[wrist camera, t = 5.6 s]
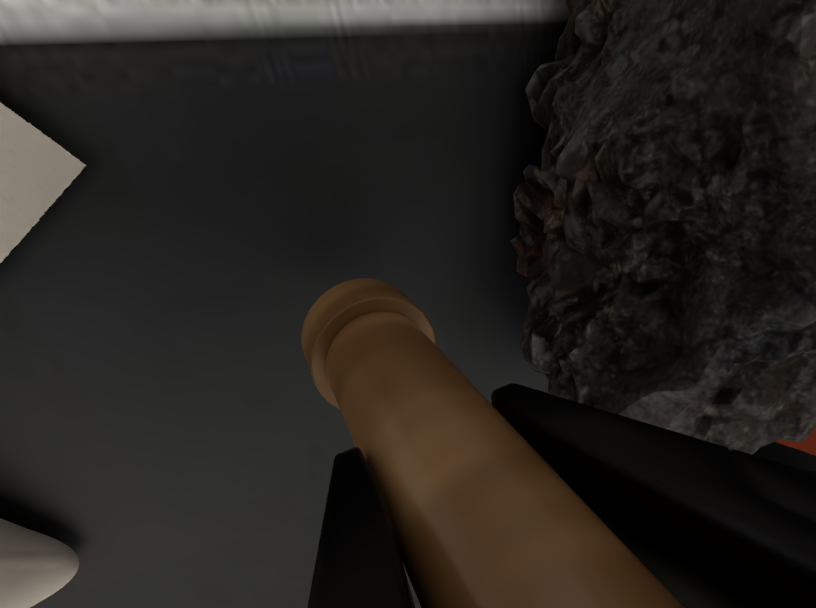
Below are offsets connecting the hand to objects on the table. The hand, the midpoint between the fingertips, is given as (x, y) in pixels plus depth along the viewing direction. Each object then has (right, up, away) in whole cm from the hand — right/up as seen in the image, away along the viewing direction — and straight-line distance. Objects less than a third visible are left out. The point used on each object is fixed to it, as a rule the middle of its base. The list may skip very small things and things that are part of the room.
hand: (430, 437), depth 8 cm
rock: (+7, +12, +2) cm, 14 cm away
